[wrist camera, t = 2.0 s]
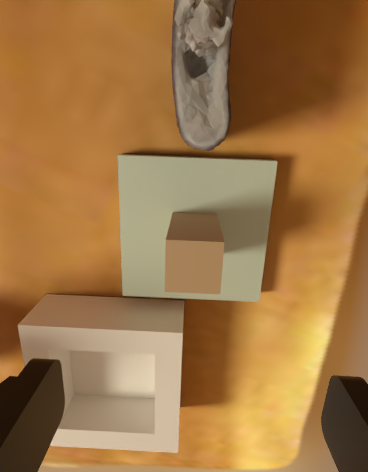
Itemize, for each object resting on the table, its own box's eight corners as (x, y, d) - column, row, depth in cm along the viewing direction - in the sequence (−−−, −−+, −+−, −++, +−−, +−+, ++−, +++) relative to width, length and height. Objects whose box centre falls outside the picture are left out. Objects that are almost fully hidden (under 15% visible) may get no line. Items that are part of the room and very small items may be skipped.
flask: (215, 145, 22) (232, 155, 12) (174, 142, 22) (158, 150, 12) (229, -8, 19) (268, -168, 9) (182, -11, 19) (169, -173, 9)
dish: (45, 294, 26) (17, 325, 22) (184, 300, 26) (182, 333, 22) (59, 401, 30) (37, 445, 26) (180, 407, 30) (177, 452, 26)
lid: (120, 154, 22) (89, 163, 15) (274, 159, 22) (308, 172, 15) (125, 289, 26) (101, 344, 19) (256, 295, 25) (279, 353, 19)
